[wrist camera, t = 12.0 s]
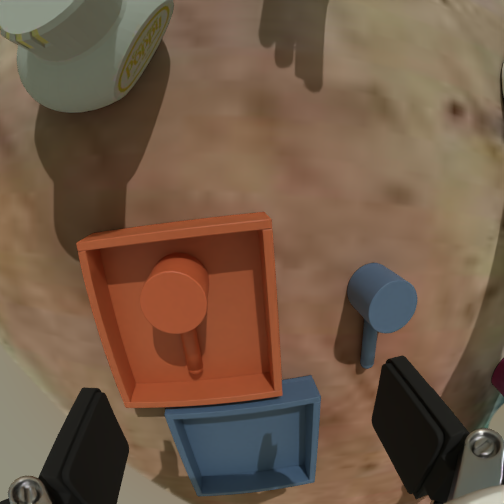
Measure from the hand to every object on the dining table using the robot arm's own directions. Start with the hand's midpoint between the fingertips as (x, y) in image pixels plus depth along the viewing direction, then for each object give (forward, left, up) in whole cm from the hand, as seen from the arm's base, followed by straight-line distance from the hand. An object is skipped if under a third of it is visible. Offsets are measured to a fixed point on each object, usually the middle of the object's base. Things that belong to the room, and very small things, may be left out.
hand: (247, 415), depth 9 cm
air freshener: (-18, -7, -14) cm, 24 cm away
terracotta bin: (+2, -3, -14) cm, 14 cm away
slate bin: (+16, 0, -14) cm, 21 cm away
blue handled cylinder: (+5, +11, -14) cm, 18 cm away
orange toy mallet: (+2, -3, -13) cm, 14 cm away
